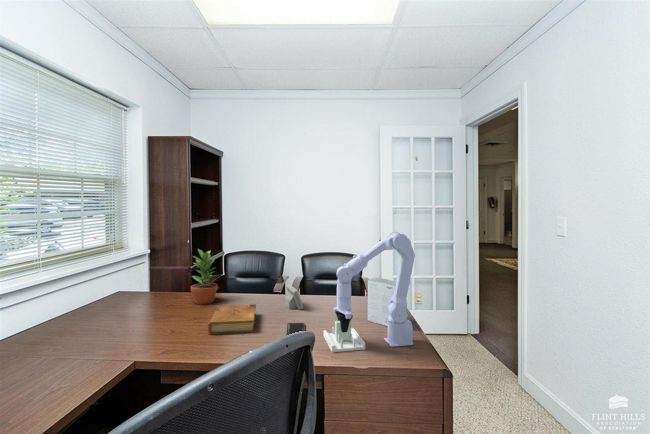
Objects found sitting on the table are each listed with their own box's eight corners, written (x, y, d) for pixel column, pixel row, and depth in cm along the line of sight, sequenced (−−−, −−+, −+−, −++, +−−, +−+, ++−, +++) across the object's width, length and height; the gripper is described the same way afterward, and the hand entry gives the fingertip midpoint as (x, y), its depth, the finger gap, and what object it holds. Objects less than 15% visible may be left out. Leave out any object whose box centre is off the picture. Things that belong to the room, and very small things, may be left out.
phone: (286, 335, 136) (287, 323, 151) (286, 338, 136) (287, 325, 151) (305, 335, 137) (304, 322, 152) (305, 338, 137) (304, 325, 152)
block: (349, 336, 134) (349, 319, 133) (351, 339, 131) (351, 322, 131) (334, 338, 132) (335, 320, 132) (336, 340, 130) (336, 323, 130)
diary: (217, 317, 162) (217, 305, 162) (255, 315, 165) (255, 304, 165) (208, 335, 139) (208, 321, 139) (253, 332, 142) (253, 319, 142)
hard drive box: (403, 324, 152) (404, 281, 151) (394, 329, 147) (395, 284, 146) (375, 316, 163) (376, 276, 162) (366, 320, 157) (366, 279, 156)
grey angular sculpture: (303, 310, 171) (303, 290, 171) (286, 311, 170) (286, 291, 169) (300, 301, 187) (300, 283, 187) (284, 302, 186) (284, 283, 185)
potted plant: (214, 305, 179) (213, 250, 178) (186, 305, 179) (185, 250, 178) (222, 297, 194) (222, 246, 192) (197, 297, 194) (196, 246, 193)
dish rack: (353, 333, 141) (353, 324, 141) (365, 349, 126) (365, 339, 125) (323, 336, 138) (323, 326, 138) (332, 352, 123) (332, 341, 123)
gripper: (329, 292, 137) (329, 324, 138) (338, 302, 123) (338, 338, 124) (346, 291, 139) (345, 323, 139) (356, 301, 125) (356, 337, 125)
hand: (343, 330), depth 132 cm, fingers closed on block, 2 cm apart
